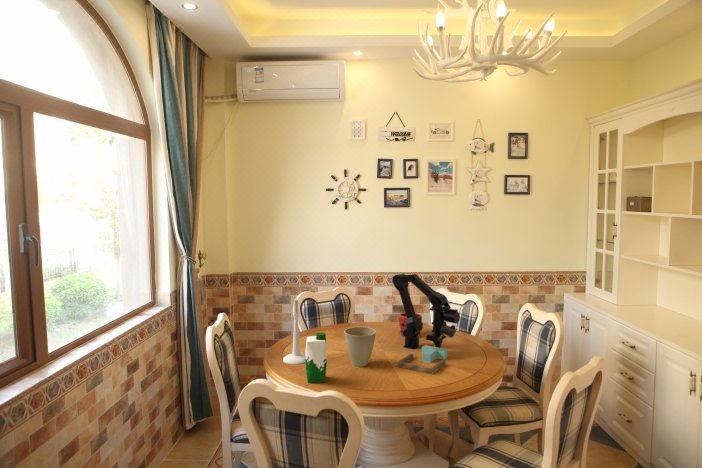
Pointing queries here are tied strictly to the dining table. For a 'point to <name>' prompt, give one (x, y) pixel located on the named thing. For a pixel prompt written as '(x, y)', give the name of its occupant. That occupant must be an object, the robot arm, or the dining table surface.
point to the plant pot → (360, 344)
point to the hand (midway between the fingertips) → (438, 350)
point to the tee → (433, 353)
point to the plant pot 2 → (403, 321)
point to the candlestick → (295, 342)
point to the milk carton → (316, 358)
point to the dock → (406, 365)
